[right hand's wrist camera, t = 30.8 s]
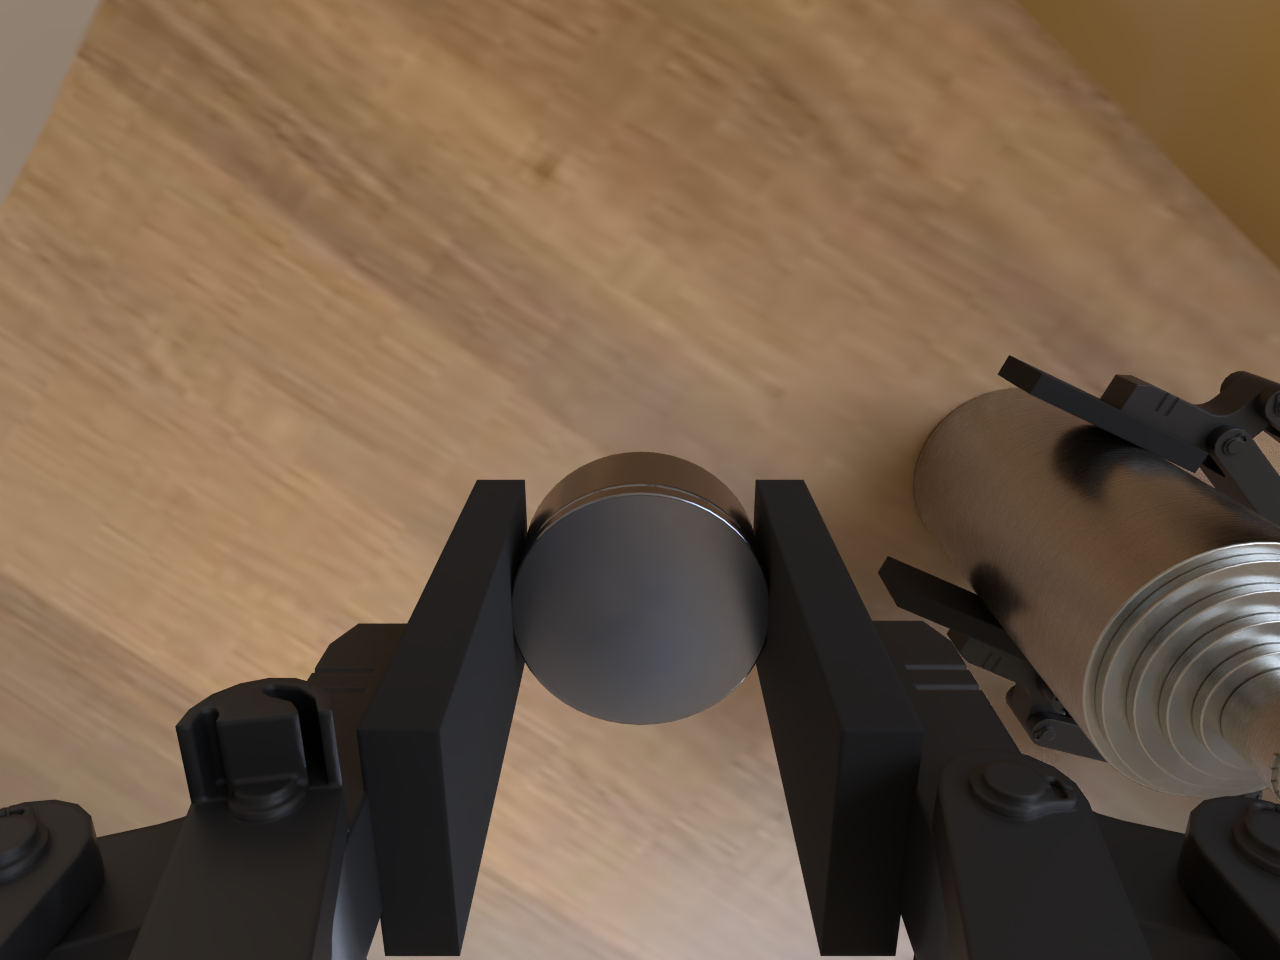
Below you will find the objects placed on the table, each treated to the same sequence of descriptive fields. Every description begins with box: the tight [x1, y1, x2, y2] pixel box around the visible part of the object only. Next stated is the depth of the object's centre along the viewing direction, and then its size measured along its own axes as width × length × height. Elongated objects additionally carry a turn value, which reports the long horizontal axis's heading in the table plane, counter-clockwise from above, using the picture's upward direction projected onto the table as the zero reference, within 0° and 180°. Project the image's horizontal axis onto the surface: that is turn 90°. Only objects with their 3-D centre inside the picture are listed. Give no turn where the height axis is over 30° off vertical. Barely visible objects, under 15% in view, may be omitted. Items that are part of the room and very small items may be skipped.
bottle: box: [914, 388, 1280, 802], centre depth 29 cm, size 8×8×20 cm
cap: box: [511, 452, 770, 725], centre depth 14 cm, size 4×4×2 cm
